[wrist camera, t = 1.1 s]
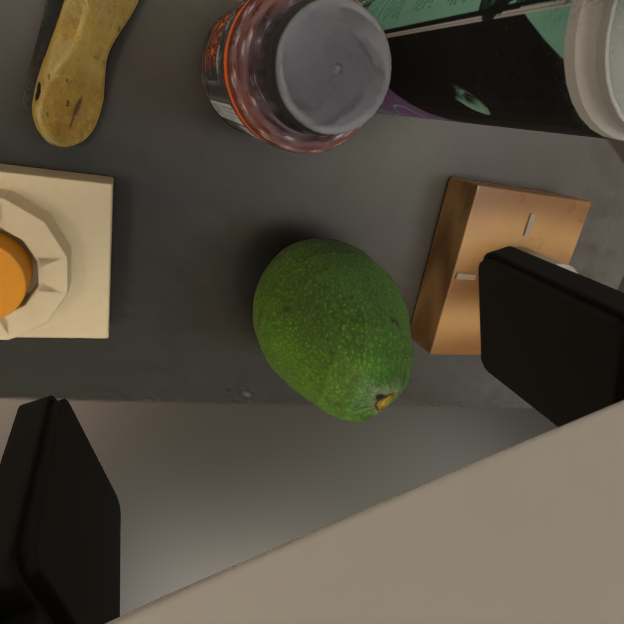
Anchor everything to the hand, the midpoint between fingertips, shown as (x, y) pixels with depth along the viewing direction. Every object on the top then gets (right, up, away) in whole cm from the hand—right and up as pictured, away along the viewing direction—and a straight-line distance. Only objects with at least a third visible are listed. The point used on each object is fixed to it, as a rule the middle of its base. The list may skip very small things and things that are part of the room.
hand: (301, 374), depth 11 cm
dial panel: (+12, +5, +24) cm, 27 cm away
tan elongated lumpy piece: (-9, +16, +11) cm, 21 cm away
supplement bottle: (-3, +14, +15) cm, 20 cm away
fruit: (-1, +3, +20) cm, 21 cm away
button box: (-15, +5, +14) cm, 21 cm away
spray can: (+4, +15, +16) cm, 23 cm away
